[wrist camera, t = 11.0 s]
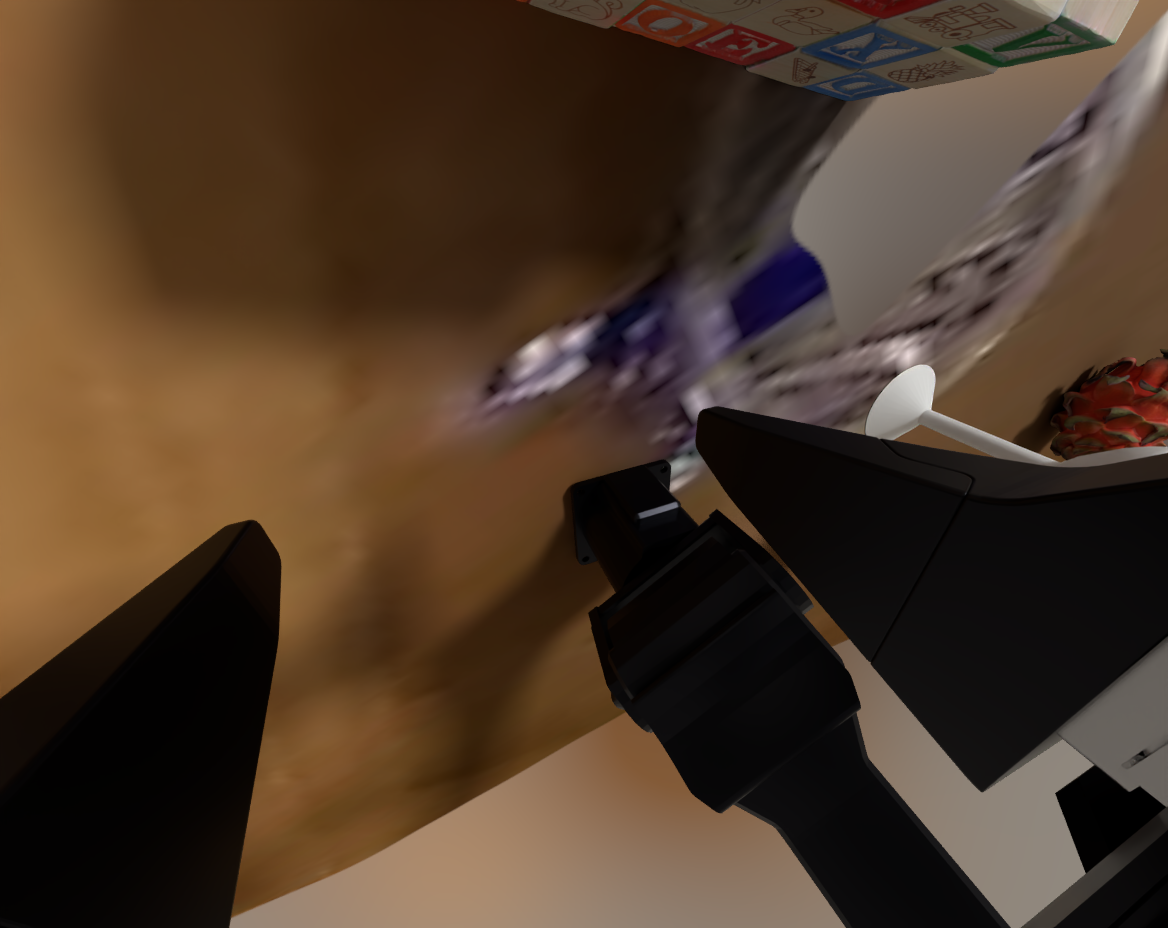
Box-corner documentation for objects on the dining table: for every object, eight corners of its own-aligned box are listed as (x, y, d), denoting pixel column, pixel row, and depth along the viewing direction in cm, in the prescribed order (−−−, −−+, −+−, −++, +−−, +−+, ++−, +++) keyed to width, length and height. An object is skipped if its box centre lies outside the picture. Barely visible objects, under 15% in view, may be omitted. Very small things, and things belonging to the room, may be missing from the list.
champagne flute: (861, 458, 35) (1418, 775, 16) (869, 389, 31) (1633, 707, 12) (926, 421, 36) (1532, 682, 17) (943, 348, 31) (1773, 588, 13)
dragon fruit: (1001, 449, 47) (1064, 339, 43) (1086, 471, 46) (1158, 360, 42) (1068, 470, 39) (1153, 337, 35) (1174, 498, 38) (1272, 363, 34)
